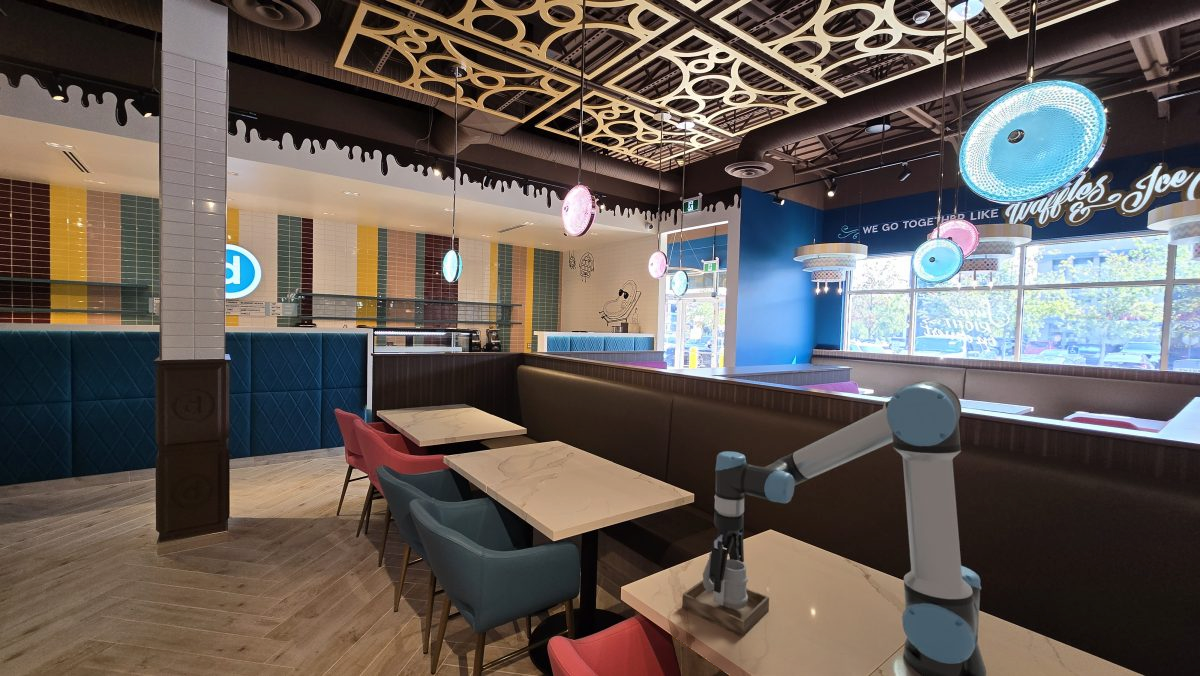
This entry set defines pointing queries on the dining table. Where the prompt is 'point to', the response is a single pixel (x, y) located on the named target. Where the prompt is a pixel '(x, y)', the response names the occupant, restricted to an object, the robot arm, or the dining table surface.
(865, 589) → the dining table surface
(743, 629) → the wooden tray
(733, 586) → the mug
